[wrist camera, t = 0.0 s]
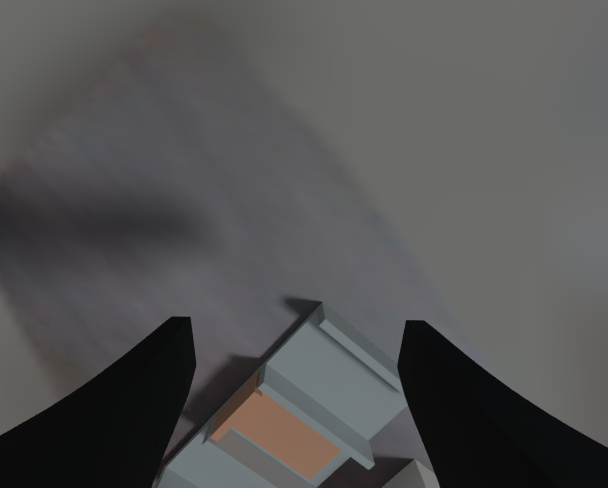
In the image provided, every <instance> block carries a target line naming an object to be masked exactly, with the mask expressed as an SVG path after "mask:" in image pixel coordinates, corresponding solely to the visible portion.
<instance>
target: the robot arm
mask: <svg viewBox="0 0 608 488" xmlns="http://www.w3.org/2000/svg"><path fill="white" fill-rule="evenodd" d="M195 369H196V357H195V349H194V341H193V333H192V325H191V317H171V318H169V319H168V320H167V321H165V322H164V323H163V324H162V325H161V326H159V327H158V328H157V329H156V330H155V331H153V332H152V333H151V334H150V335H149V336H147V337H146V338H145V339H144V340H142V341H141V342H140V343H139V344H137V345H136V346H135V347H134V348H132V349H131V350H130V351H129V352H128V353H126V354H125V355H124V356H122V357H121V358H120V359H119V360H117V361H116V362H114V363H113V364H112V365H110V366H109V367H108V368H106V369H105V370H104V371H102V372H101V373H100V374H98V375H97V376H96V377H94V378H93V379H92V380H90V381H89V382H87V383H86V384H84V385H83V386H82V387H80V388H79V389H77V390H76V391H74V392H73V393H71V394H70V395H68V396H66V397H65V398H63V399H62V400H60V401H59V402H57V403H55V404H54V405H52V406H51V407H49V408H47V409H46V410H44V411H42V412H41V413H39V414H37V415H36V416H34V417H32V418H30V419H29V420H27V421H25V422H23V423H22V424H20V425H18V426H16V427H14V428H13V429H11V430H9V431H7V432H6V433H4V434H2V435H0V488H151V487H152V484H153V481H154V479H155V476H156V473H157V470H158V468H159V465H160V463H161V460H162V458H163V455H164V453H165V451H166V448H167V446H168V443H169V441H170V439H171V436H172V434H173V431H174V429H175V426H176V424H177V422H178V419H179V417H180V414H181V412H182V409H183V407H184V404H185V402H186V399H187V397H188V394H189V391H190V387H191V384H192V380H193V376H194V372H195ZM397 369H398V373H399V377H400V381H401V385H402V389H403V392H404V396H405V399H406V401H407V404H408V406H409V409H410V411H411V414H412V417H413V419H414V422H415V424H416V427H417V429H418V432H419V434H420V437H421V439H422V442H423V444H424V446H425V449H426V451H427V454H428V456H429V459H430V461H431V464H432V466H433V469H434V472H435V475H436V478H437V480H438V483H439V486H440V488H608V448H607V447H605V446H604V445H602V444H600V443H598V442H596V441H594V440H593V439H591V438H589V437H587V436H585V435H584V434H582V433H580V432H578V431H577V430H575V429H573V428H572V427H570V426H568V425H566V424H565V423H563V422H561V421H560V420H558V419H556V418H555V417H553V416H551V415H550V414H548V413H546V412H545V411H544V410H542V409H540V408H539V407H537V406H536V405H534V404H533V403H531V402H530V401H528V400H526V399H525V398H523V397H522V396H521V395H519V394H518V393H516V392H515V391H513V390H512V389H510V388H509V387H508V386H506V385H505V384H503V383H502V382H501V381H499V380H498V379H497V378H495V377H494V376H493V375H491V374H490V373H489V372H487V371H486V370H485V369H483V368H482V367H481V366H479V365H478V364H477V363H476V362H474V361H473V360H472V359H471V358H469V357H468V356H467V355H466V354H464V353H463V352H462V351H461V350H460V349H458V348H457V347H456V346H455V345H453V344H452V343H451V342H450V341H449V340H447V339H446V338H445V337H444V336H443V335H441V334H440V333H439V332H438V331H437V330H435V329H434V328H433V327H432V326H431V325H429V324H428V323H427V322H425V321H423V320H406V323H405V329H404V334H403V339H402V344H401V349H400V354H399V359H398V365H397Z"/></svg>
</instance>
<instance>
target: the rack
mask: <svg viewBox="0 0 608 488" xmlns="http://www.w3.org/2000/svg"><path fill="white" fill-rule="evenodd" d="M407 405H408V404H407V401H406V399H405V396H404V392H403V389H402V385H401V381H400V377H399V373H398V369H397V364H396V363H395V362H393V361H392V360H391V359H390V358H389V357H387V356H386V355H385V354H384V353H383V352H381V351H380V350H379V349H378V348H377V347H375V346H374V345H373V344H372V343H371V342H369V341H368V340H367V339H366V338H365V337H363V336H362V335H361V334H360V333H359V332H357V331H356V330H355V329H354V328H353V327H351V326H350V325H349V324H348V323H347V322H345V321H344V320H343V319H342V318H341V317H339V316H338V315H337V314H336V313H335V312H333V311H332V310H331V309H330V308H329V307H327V306H326V305H325V304H324V303H323V302H322V303H321V304H320V305H319V306H318V307H317V308H316V309H315V310H314V311H313V312H312V313H311V314H310V315H309V316H308V317H307V318H306V319H305V320H304V321H303V322H302V323H301V325H300V326H299V327H298V328H297V329H296V330H295V331H294V332H293V333H292V334H291V335H290V336H289V337H288V338H287V339H286V340H285V341H284V342H283V343H282V344H281V345H280V346H279V347H278V348H277V349H276V350H275V352H274V353H273V354H272V355H271V356H270V357H269V358H268V359H267V360H266V361H265V362H264V363H263V364H262V365H261V366H260V367H259V368H258V369H257V370H256V371H255V372H254V373H253V374H252V375H251V376H250V377H249V378H248V380H247V381H246V382H245V383H244V384H243V385H242V386H241V387H240V388H239V389H238V390H237V391H236V392H235V393H234V394H233V395H232V396H231V397H230V398H229V399H228V400H227V401H226V402H225V403H224V404H223V405H222V406H221V408H220V409H219V410H218V411H217V412H216V413H215V414H214V415H213V416H212V417H211V418H210V419H209V420H208V421H207V422H206V423H205V424H204V425H203V426H202V427H201V428H200V429H199V430H198V431H197V432H196V433H195V434H194V436H193V437H192V438H191V439H190V440H189V441H188V442H187V443H186V444H185V445H184V446H183V447H182V448H181V449H180V450H179V451H178V452H177V453H176V454H175V455H174V456H173V457H172V458H171V459H170V460H169V461H168V462H167V464H166V465H165V466H164V467H163V470H162V472H161V474H160V477H159V479H158V481H157V483H156V486H155V488H317V487H318V486H319V485H320V484H321V483H322V482H323V481H324V480H326V479H327V478H328V477H329V476H330V475H331V474H332V473H333V472H334V471H335V470H337V469H338V468H339V467H340V466H341V465H342V464H343V463H344V462H345V461H346V460H348V459H349V458H350V457H352V458H353V459H354V460H356V461H357V462H358V463H360V464H361V465H363V466H364V467H365V468H367V469H368V470H369V469H371V468H372V467H373V466H374V465H375V463H374V459H373V456H372V452H371V448H370V445H369V440H370V439H371V438H372V437H373V436H374V435H375V434H376V433H377V432H378V431H380V430H381V429H382V428H383V427H384V426H385V425H386V424H387V423H388V422H389V421H391V420H392V419H393V418H394V417H395V416H396V415H397V414H398V413H399V412H401V411H402V410H403V409H404V408H405V407H406V406H407Z"/></svg>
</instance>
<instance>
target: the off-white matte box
mask: <svg viewBox="0 0 608 488" xmlns="http://www.w3.org/2000/svg"><path fill="white" fill-rule="evenodd" d="M382 488H440V486H439V483H438V480H437V478H436V475H435V474H433V473H432V472H431V471H430V470H428V469H427V468H426V467H424V466H423V465H422V464H420V463H419V462H418V461H417V460H415V459H414V460H413V461H412V462H410V463H409V464H408V465H407V466H406V467H405V468H403V469H402V470H401V471H400V472H399V473H398V474H397V475H395V476H394V477H393V478H392V479H391V480H390V481H388V482H387V483H386V484H385V485H384V486H383V487H382Z"/></svg>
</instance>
